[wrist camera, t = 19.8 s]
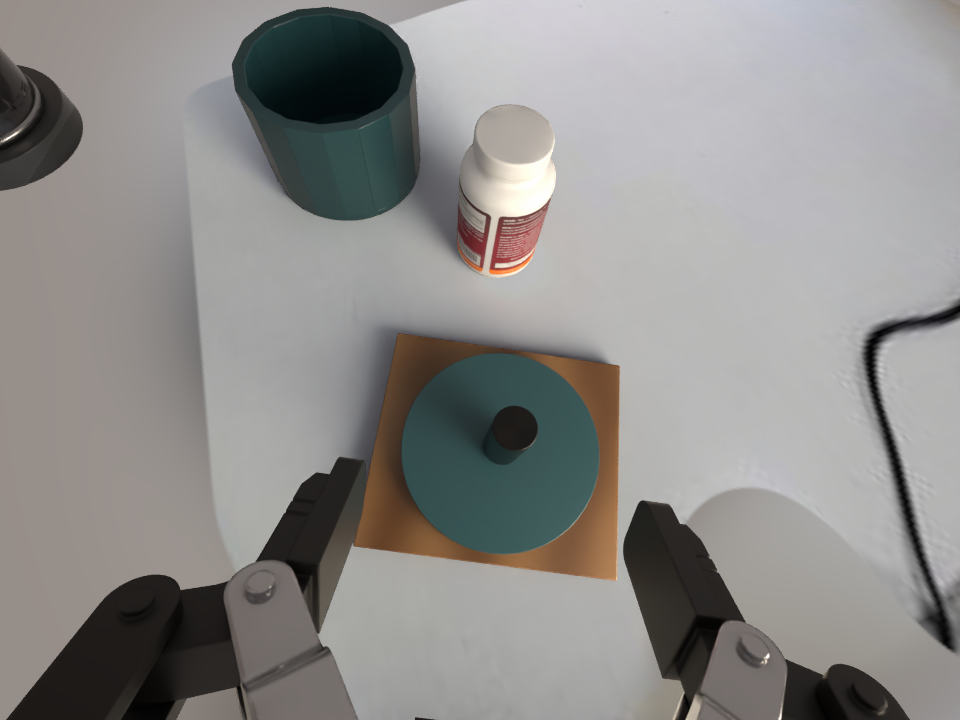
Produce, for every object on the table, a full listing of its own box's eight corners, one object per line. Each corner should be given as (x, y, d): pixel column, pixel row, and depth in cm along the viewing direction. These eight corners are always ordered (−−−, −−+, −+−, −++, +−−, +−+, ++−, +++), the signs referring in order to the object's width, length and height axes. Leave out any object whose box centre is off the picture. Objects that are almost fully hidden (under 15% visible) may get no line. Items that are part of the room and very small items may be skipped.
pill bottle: (539, 225, 37) (577, 108, 26) (525, 288, 35) (561, 188, 24) (465, 207, 37) (475, 83, 27) (447, 269, 35) (450, 161, 24)
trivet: (356, 545, 27) (352, 546, 26) (399, 338, 32) (397, 332, 31) (611, 579, 28) (617, 581, 27) (614, 369, 33) (620, 365, 32)
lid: (384, 538, 27) (367, 542, 20) (420, 346, 31) (415, 301, 25) (590, 566, 27) (635, 578, 21) (597, 372, 32) (635, 334, 25)
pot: (259, 208, 35) (206, 115, 27) (299, 102, 39) (263, -5, 31) (405, 231, 36) (395, 146, 28) (429, 123, 40) (426, 23, 32)
